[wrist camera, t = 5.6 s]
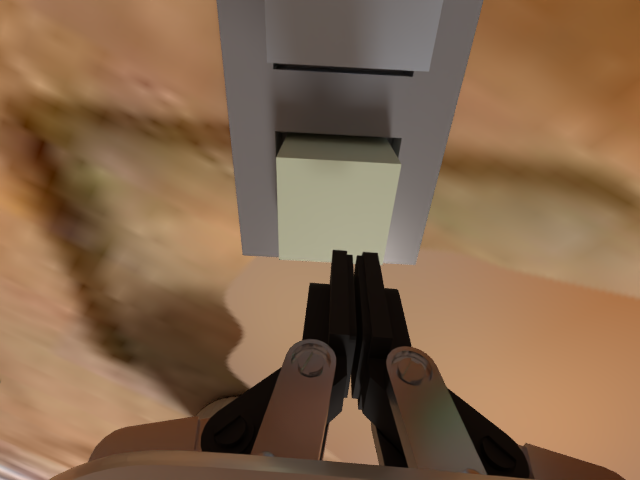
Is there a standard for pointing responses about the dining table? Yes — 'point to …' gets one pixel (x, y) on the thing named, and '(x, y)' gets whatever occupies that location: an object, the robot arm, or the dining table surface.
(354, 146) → the button sage
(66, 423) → the dining table surface
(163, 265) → the dining table surface
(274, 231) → the console
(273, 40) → the button blue
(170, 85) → the dining table surface
